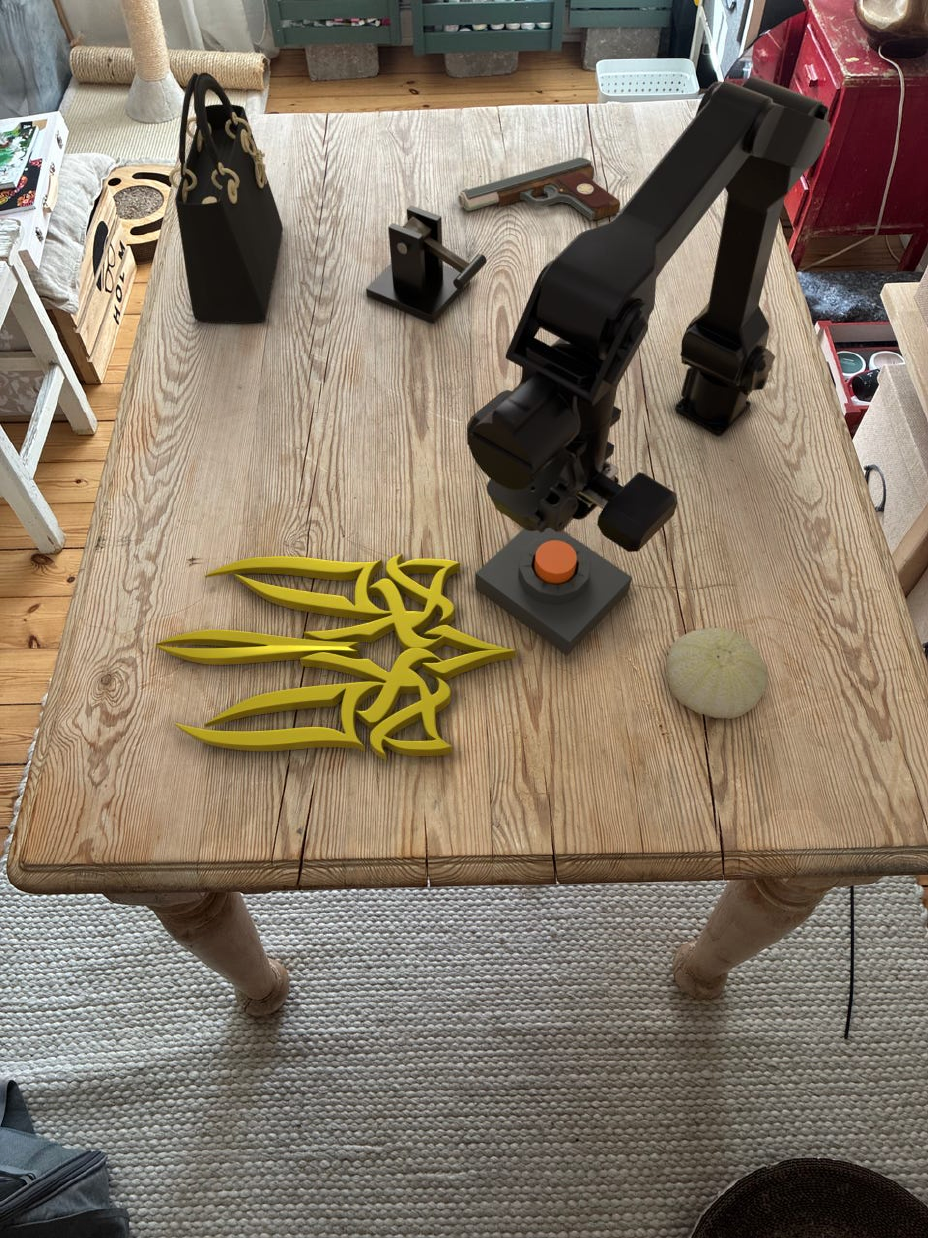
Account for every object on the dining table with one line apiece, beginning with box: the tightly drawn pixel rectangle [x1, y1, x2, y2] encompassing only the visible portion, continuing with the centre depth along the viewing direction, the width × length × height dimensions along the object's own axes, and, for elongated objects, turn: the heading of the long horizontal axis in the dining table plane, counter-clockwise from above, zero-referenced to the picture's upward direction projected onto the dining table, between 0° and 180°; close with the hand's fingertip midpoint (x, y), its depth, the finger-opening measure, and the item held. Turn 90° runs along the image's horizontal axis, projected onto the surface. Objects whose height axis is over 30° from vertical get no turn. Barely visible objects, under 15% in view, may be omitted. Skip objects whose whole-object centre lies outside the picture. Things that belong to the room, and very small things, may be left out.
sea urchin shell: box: [665, 626, 769, 720], centre depth 88 cm, size 9×8×8 cm
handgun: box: [458, 156, 621, 221], centre depth 127 cm, size 2×20×12 cm
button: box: [535, 540, 577, 584], centre depth 91 cm, size 4×4×2 cm
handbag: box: [168, 72, 284, 324], centre depth 110 cm, size 21×9×25 cm, turn 179°
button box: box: [474, 528, 633, 657], centre depth 93 cm, size 12×10×4 cm
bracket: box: [365, 205, 471, 324], centre depth 115 cm, size 10×9×10 cm
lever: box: [402, 217, 488, 290], centre depth 112 cm, size 10×6×2 cm, turn 59°
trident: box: [155, 553, 517, 762], centre depth 90 cm, size 22×2×35 cm
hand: (560, 527), depth 86 cm, fingers closed
